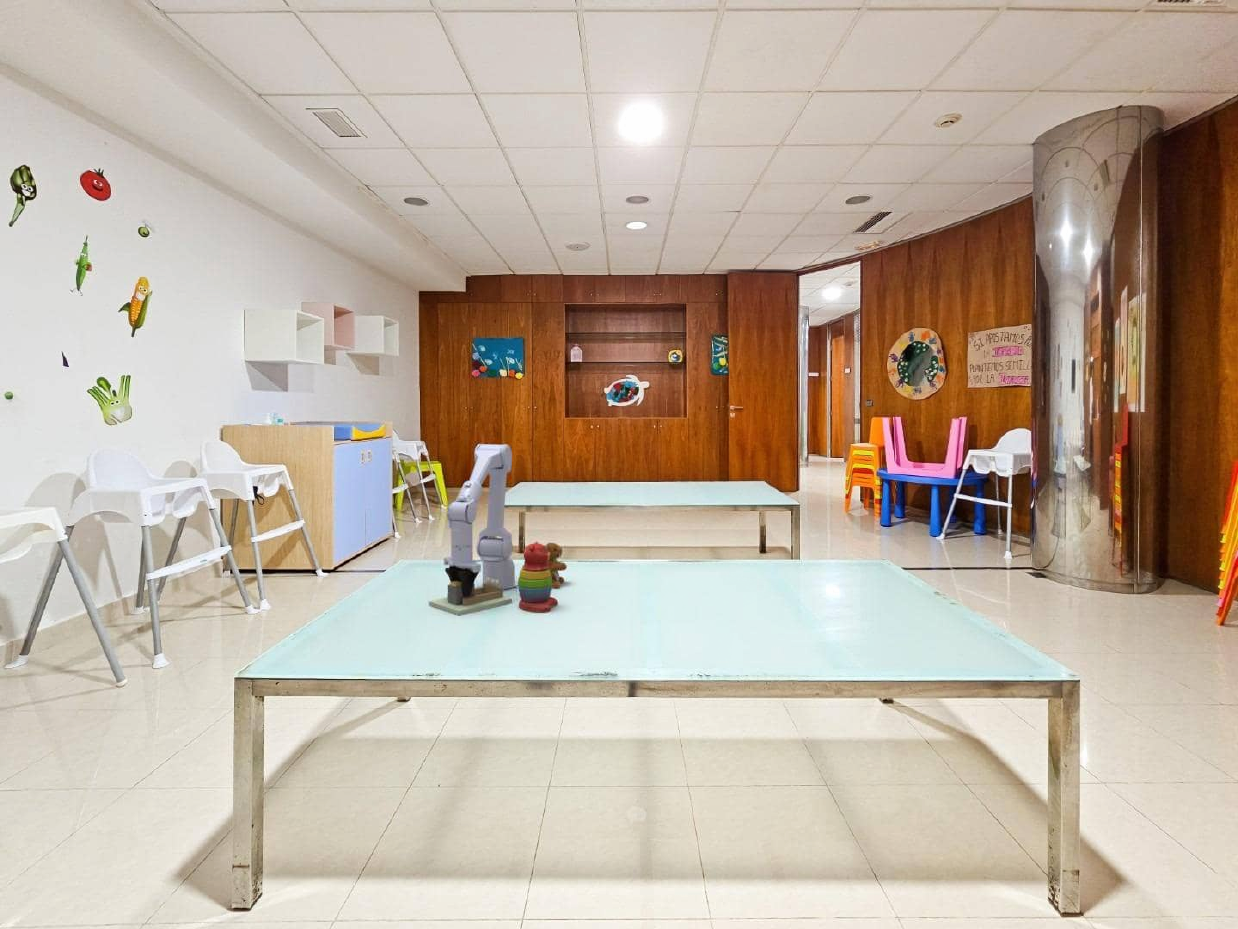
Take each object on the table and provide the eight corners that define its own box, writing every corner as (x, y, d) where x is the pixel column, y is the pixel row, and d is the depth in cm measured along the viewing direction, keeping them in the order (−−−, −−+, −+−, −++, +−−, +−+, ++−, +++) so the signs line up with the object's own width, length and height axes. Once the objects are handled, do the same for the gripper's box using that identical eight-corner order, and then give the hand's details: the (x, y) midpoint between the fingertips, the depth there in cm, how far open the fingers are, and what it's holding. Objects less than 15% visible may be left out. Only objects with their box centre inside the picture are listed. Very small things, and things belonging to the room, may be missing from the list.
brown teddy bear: (561, 589, 214) (561, 546, 213) (517, 586, 216) (517, 544, 215) (569, 581, 223) (569, 541, 222) (527, 579, 226) (527, 539, 225)
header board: (481, 593, 206) (481, 574, 206) (512, 602, 197) (512, 582, 197) (428, 605, 193) (428, 584, 193) (458, 615, 184) (458, 593, 183)
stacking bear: (548, 613, 187) (548, 547, 186) (512, 610, 189) (512, 545, 188) (559, 603, 197) (559, 540, 196) (525, 600, 199) (525, 539, 198)
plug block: (466, 598, 196) (465, 578, 196) (474, 601, 193) (474, 580, 193) (447, 602, 192) (447, 581, 191) (456, 605, 189) (456, 584, 189)
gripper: (434, 543, 194) (434, 591, 194) (465, 550, 184) (465, 601, 185) (455, 540, 199) (455, 587, 200) (487, 547, 189) (487, 596, 190)
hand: (462, 594), depth 193 cm, fingers closed on plug block, 4 cm apart
